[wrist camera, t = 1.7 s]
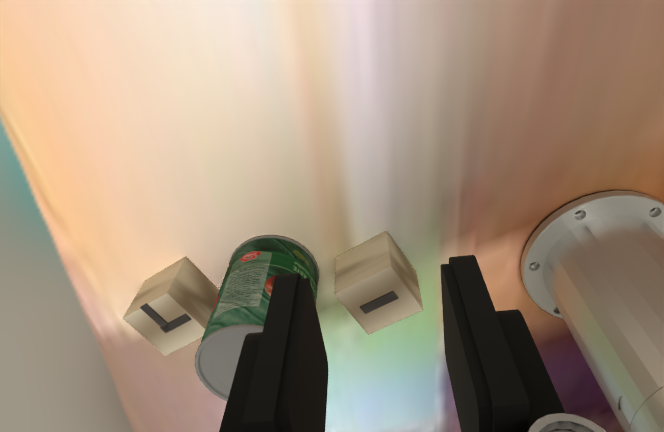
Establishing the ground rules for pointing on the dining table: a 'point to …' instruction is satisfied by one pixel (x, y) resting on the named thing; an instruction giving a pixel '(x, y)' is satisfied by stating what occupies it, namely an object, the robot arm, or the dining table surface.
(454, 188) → the dining table surface
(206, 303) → the marked block two
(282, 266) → the canned tomato
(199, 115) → the dining table surface
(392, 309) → the marked block one
